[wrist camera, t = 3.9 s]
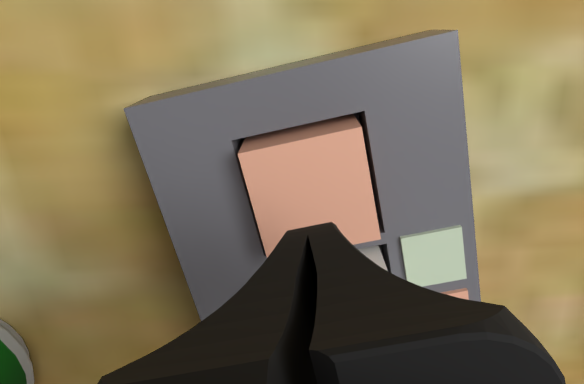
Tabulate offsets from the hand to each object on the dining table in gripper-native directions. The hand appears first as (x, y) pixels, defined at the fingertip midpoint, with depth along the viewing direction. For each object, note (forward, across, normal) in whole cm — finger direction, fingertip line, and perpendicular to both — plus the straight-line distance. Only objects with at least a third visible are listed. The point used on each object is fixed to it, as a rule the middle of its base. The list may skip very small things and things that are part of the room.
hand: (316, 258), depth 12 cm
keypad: (+8, 0, +6) cm, 10 cm away
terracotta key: (+8, 0, 0) cm, 8 cm away
